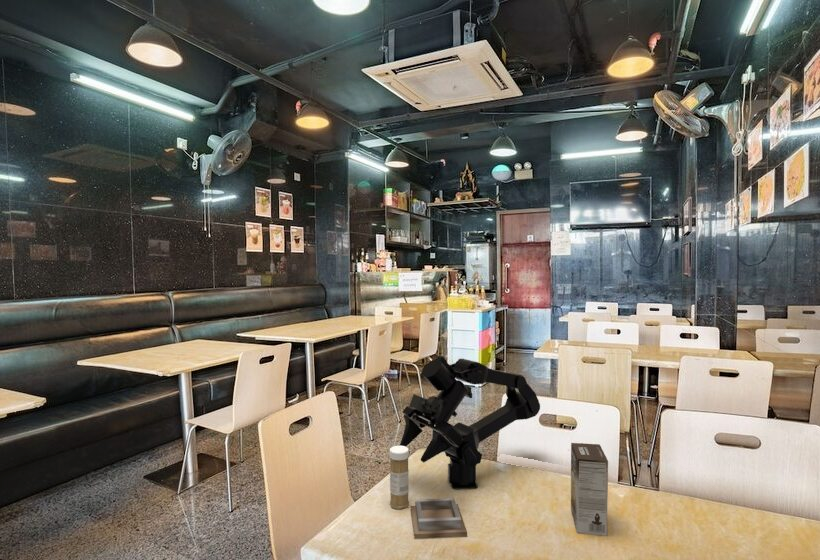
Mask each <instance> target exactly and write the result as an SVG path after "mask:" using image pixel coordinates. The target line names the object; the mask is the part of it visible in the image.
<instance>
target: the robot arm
mask: <svg viewBox="0 0 820 560" xmlns="http://www.w3.org/2000/svg"><path fill="white" fill-rule="evenodd" d="M421 375H422V376H423V378H424V379H425V380H426V381H427V382H428V383H429V384H430V385H431V386H432V387H433V388H434V389H435V390H436V391H437V392H438V391H439V393H438V395H436V396H435V395H432V396H430V395H429V396H428V397H427V398H425V397H422V396H420V395H417V394H415V393H414V394H412V397H411V400H410V402H409V405H406V406H405V407H404V409H403V410H402V414H403V419H404V421H405V427H404V431H403V435H402V437H401V440H400V442H399V443H400V444H399V446H405V447H408V445H409V444H411V443H412V442H413V441H414V440H415V439H416V438H417V437H418V436H419V435H420V434H421V433H422V432H424V430H423V428H426V427H428V428H429V429H431V430H432V435H431V436H432V438H431V440H430V442H429V443H428V445H427V447H426V449H425V450H424V452H423V454H422V455H421V458H420V461H421V462H422V463H424V464H425V463H426V462H427V461H429V460H432V458H434V457H436V456H439V454H442V453H443V452H444V455H445V456H446V457H448V458H449V463H447V480H448V483H449V484H450V485H451V488H452V489H453V490H461V489H465V490H466V489H477V488H478V484H477V478H476V477H477V476H476V475H477V470H476V469H477V465H478V464H481V462H482V459H483V458H482V457H483V454H482V453H481V452H480V450H478V448H479V445H480V443H482V442H483V441H485V440H486V439H488V438H489V437H491V436H493V435H495V434H496V433H497V432H499V431H501V430H502V429H504V428H505V427H507V426H509V425H511V424H512V423H514V422H515V421H521V420H522V421H523V420H529V419H531V418H534V417H536V416H537V415H538V413H539V412H540V410H541V403H540V401H539V398H538V396H537V393H536V392H535V391H534V390H533V389H532V387H531V386H530V385H529V383H528V382H527V380H526V377H524V375H522V374H519V373H515V372H508V371H507V372H506V371H503V370H497V369H493V368H489V367H488V366H487V365H484V364H483V363H480V362H478V361H475V360H470V359H466V358H458V359H457V360H456V362H454V363H452V364H449V363H448V361H447V359H446V358H445V356H440V355H437V357H436V358H433V359H432V360H430V361H429V362H427V363H426V364H424V366H423V367H422V370H421ZM464 382H465V383H468V384H471V385H483V384H485V383H490V384H495V385H501V386H506V387H505V388H506V391H505V392H506V393H505V395H506V397H507V398H506V402H505V404H504V405H503V406H502V407H500V408H498V409H496V410H494V411H492V412H491V413H489V414H487V415H485V416H484V417H482V418H480V419H479V420H477V421H476V422H474V423H472V424H470V425H467V424H464V423H462V422H460V421H459V422H457V423H455V424H454V425H453V424H451V423H449V420H450V419H451V418H452V417H454V418H456V417H457V416H458V413H457V411H456V410H457V408H459V405H460V404H461V403H462V401H463V400H464V399H465V397H466V398H468V399H472V398H473V393H472V387H471V386H468V385H465V383H464ZM517 390H518V391H517Z"/></svg>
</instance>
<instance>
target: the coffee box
mask: <svg viewBox="0 0 820 560" xmlns="http://www.w3.org/2000/svg"><path fill="white" fill-rule="evenodd" d="M570 447H571V449H570V512H571V516H572V519H573V523H574V527H575V530H576V533H577V534H585V535H594V536H603V537H608V501H609V500H608V495H609V494H608V492H609V488H608V487H609V485H608V484H609V460H608V458H607V456H606V454H605V452H604V450H603V448H602V446H601V444H597V443H583V442H582V443H580V442H571V445H570Z"/></svg>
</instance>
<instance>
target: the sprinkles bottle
mask: <svg viewBox="0 0 820 560" xmlns="http://www.w3.org/2000/svg"><path fill="white" fill-rule="evenodd" d="M409 457H410V450H409V447H408V446H406V447H405V446H400V445H393V446H391V447H390V449H389V460H390V461H389V462H390V463H389V464H390V467H389V468H390V469H389V471H390V472H389V491H390V501H389V505H390V506H391V508H393V509H396V510H403V509H405V508H407V507H408V506H409V505H410V502H409V488H410V487H409V485H410V484H409V481H410V477H409V474H410V473H409Z"/></svg>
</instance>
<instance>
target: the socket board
mask: <svg viewBox="0 0 820 560" xmlns="http://www.w3.org/2000/svg"><path fill="white" fill-rule="evenodd" d="M414 501H415V502H414V505H410V515H411V523H412V529H413V530H412V531H413V538H414V539H415V540H419V539H420V540H421V539H422V540H424V539H437V538H438V539H441V538H443V539H444V538H445V539H446V538H463V537H464V538H466V537H468V530H467V527H466V525H465V522H464V518H463V515H462V513H461V510H460V507H459V504H458V503H456V500H455V498H454V497H447V498H446V497H445V498H443V497H442V498H441V497H439V498H419V499H415V500H414Z"/></svg>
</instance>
